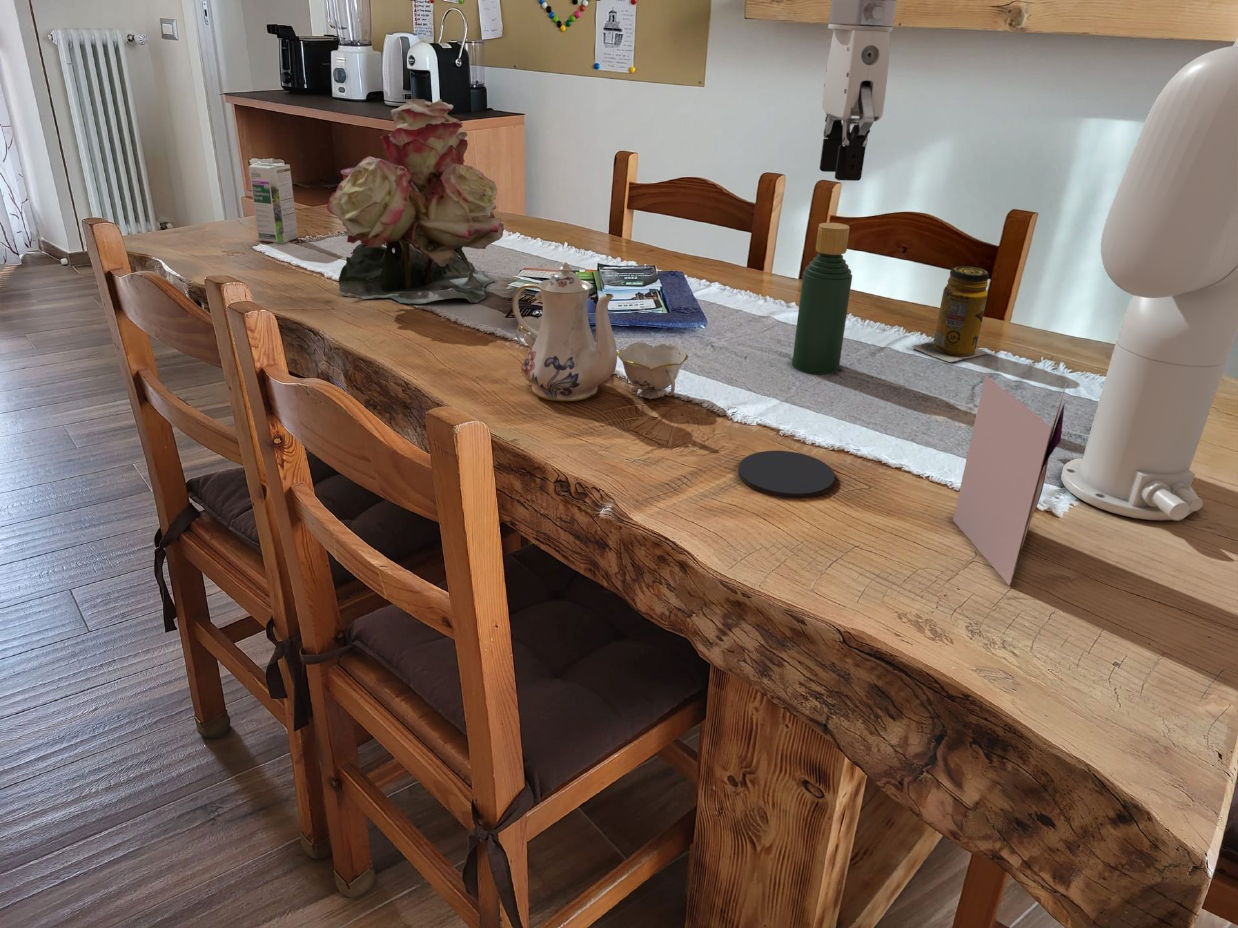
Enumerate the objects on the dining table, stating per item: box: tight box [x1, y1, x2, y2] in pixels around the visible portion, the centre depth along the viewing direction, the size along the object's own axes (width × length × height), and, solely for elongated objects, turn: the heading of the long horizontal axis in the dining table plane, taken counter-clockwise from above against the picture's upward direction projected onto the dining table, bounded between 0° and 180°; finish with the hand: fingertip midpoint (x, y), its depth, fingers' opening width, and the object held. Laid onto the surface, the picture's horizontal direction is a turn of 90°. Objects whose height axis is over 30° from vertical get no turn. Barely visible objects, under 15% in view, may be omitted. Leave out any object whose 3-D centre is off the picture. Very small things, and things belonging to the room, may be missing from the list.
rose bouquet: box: [326, 97, 505, 305], centre depth 150 cm, size 26×29×30 cm
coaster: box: [737, 450, 836, 500], centre depth 96 cm, size 10×10×1 cm
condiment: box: [910, 265, 990, 363], centre depth 132 cm, size 7×8×12 cm
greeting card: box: [952, 374, 1067, 587], centre depth 81 cm, size 11×7×15 cm, turn 151°
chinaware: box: [511, 261, 689, 403], centre depth 115 cm, size 28×17×17 cm, turn 56°
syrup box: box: [248, 162, 299, 244], centre depth 180 cm, size 6×6×14 cm
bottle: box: [791, 252, 853, 375], centre depth 123 cm, size 6×6×19 cm
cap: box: [815, 222, 850, 255], centre depth 119 cm, size 4×4×3 cm
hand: (839, 174), depth 116 cm, fingers open, 5 cm apart
